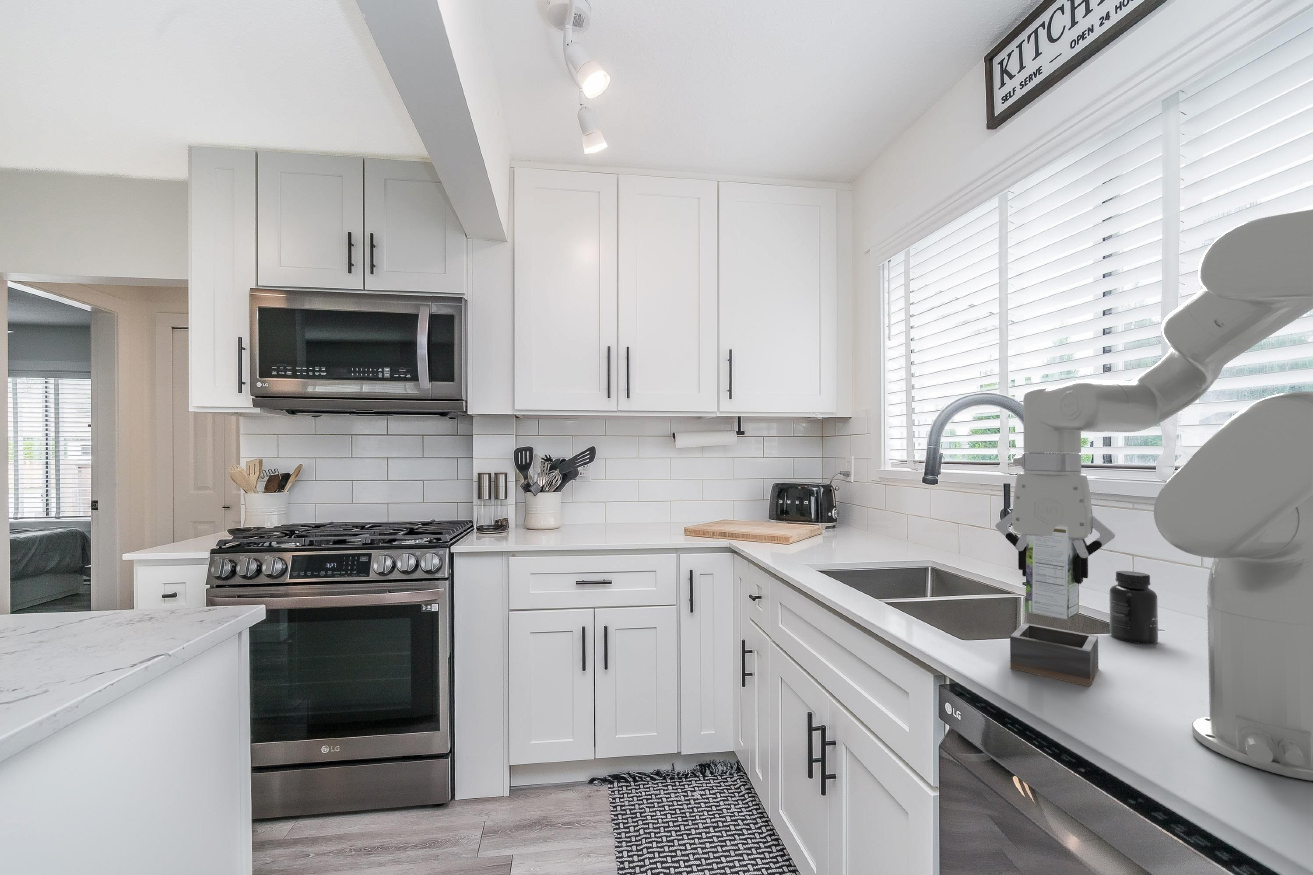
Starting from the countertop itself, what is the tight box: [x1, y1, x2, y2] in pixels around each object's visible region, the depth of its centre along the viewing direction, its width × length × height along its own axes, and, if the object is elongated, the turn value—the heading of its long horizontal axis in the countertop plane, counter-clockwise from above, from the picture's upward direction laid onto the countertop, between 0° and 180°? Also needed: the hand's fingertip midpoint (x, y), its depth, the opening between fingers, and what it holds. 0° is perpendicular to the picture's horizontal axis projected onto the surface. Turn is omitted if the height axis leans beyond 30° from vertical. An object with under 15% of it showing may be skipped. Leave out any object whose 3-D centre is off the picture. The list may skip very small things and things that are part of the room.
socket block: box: [1009, 622, 1099, 687], centre depth 89 cm, size 10×10×5 cm
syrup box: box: [1025, 524, 1080, 621], centre depth 90 cm, size 6×6×14 cm
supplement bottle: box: [1108, 570, 1159, 645], centre depth 104 cm, size 7×7×12 cm
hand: (1052, 577), depth 90 cm, fingers closed on syrup box, 6 cm apart
